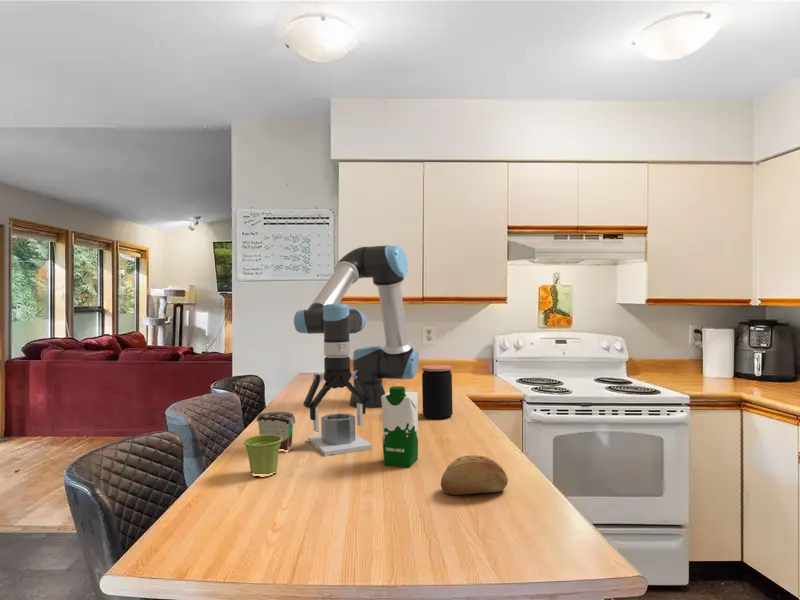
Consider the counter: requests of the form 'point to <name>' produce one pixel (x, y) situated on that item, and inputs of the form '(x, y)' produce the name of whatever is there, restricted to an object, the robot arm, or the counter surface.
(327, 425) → the collar
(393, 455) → the milk carton
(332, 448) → the panel
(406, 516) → the counter surface
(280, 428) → the food container
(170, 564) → the counter surface
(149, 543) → the counter surface
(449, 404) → the coffee jar
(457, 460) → the bread roll
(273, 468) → the plant pot
